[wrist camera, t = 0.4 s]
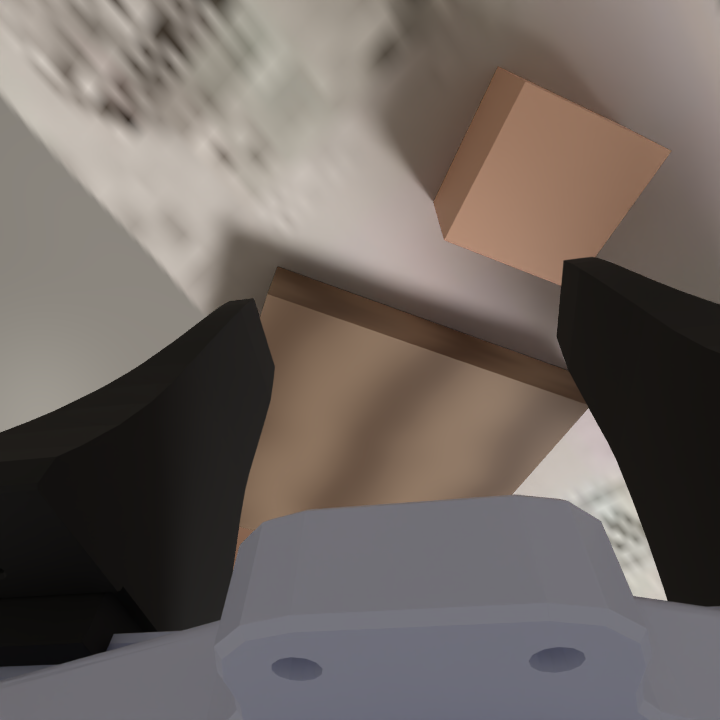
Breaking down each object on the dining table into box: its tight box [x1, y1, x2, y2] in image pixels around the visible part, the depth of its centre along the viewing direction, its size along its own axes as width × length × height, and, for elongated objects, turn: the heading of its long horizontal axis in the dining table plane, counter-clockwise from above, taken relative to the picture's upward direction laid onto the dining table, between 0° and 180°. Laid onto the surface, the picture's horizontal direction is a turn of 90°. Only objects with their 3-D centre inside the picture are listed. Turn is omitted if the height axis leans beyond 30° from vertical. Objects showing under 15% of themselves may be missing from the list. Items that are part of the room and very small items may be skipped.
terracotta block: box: [433, 67, 671, 286], centre depth 17 cm, size 5×5×4 cm
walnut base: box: [239, 267, 588, 530], centre depth 26 cm, size 15×15×2 cm
